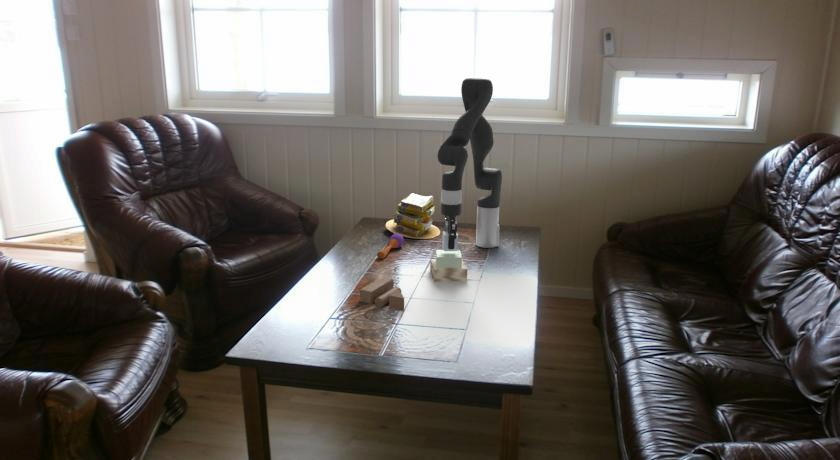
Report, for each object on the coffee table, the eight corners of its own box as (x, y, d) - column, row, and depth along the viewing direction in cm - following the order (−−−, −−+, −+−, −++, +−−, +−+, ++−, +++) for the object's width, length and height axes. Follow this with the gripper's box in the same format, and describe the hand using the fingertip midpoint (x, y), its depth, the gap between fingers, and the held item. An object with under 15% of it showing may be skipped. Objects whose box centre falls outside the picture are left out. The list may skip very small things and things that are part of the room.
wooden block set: (357, 287, 216) (385, 271, 231) (357, 303, 217) (385, 286, 233) (402, 296, 208) (428, 279, 224) (402, 313, 210) (428, 295, 225)
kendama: (372, 248, 261) (391, 232, 279) (375, 262, 263) (394, 245, 280) (386, 248, 259) (404, 231, 277) (389, 262, 261) (407, 244, 278)
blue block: (455, 246, 243) (455, 231, 242) (457, 250, 239) (458, 235, 237) (442, 247, 243) (442, 231, 241) (444, 251, 238) (444, 235, 236)
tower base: (461, 271, 250) (461, 258, 249) (466, 282, 239) (467, 269, 237) (430, 271, 249) (430, 259, 247) (434, 282, 237) (434, 269, 236)
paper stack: (450, 231, 302) (451, 195, 297) (419, 243, 282) (420, 205, 278) (407, 222, 316) (407, 188, 311) (374, 233, 296) (374, 197, 291)
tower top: (459, 260, 247) (460, 250, 246) (461, 268, 238) (461, 257, 237) (435, 259, 247) (436, 249, 246) (436, 267, 238) (437, 257, 237)
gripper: (465, 206, 229) (463, 252, 234) (458, 196, 243) (456, 240, 248) (443, 206, 229) (442, 252, 233) (438, 196, 242) (437, 241, 247)
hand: (450, 246), depth 241 cm, fingers closed on blue block, 4 cm apart
